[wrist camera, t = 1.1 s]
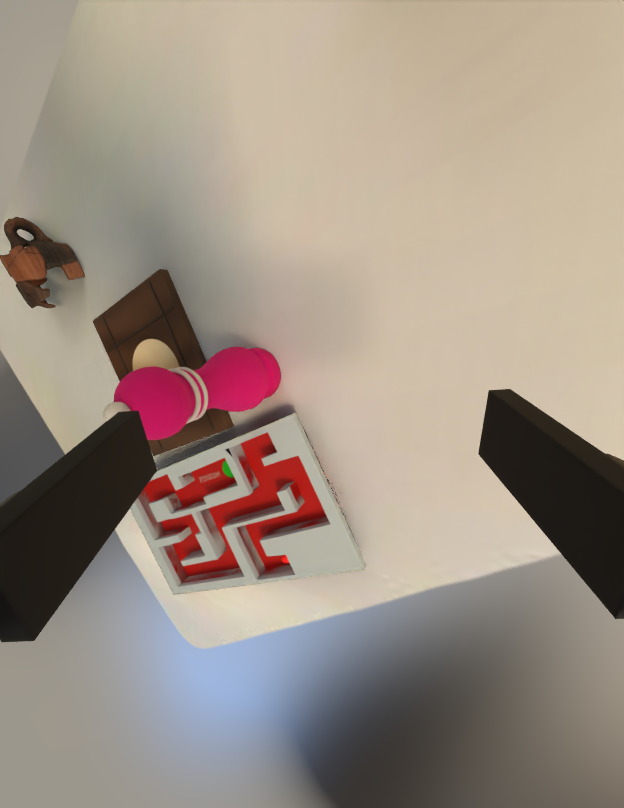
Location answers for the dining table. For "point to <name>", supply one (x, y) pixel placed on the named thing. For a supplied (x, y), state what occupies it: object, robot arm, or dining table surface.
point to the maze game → (246, 514)
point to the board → (157, 347)
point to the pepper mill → (196, 390)
